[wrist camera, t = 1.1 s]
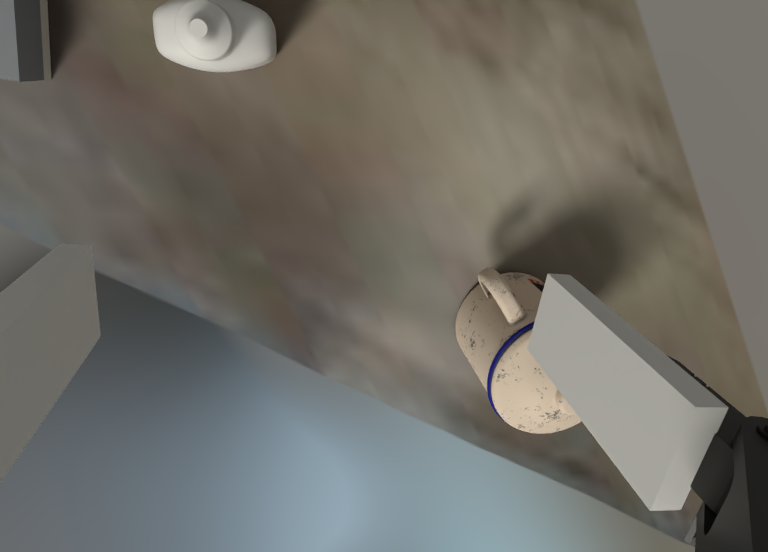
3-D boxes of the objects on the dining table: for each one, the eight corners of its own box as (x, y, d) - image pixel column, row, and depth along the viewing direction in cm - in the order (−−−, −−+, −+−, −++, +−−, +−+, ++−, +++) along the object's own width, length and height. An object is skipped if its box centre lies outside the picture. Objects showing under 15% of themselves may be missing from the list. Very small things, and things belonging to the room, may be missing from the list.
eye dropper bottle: (256, 97, 33) (240, 114, 22) (170, 47, 31) (106, 39, 20) (287, 32, 32) (287, 17, 21) (200, -23, 30) (149, -72, 19)
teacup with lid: (571, 329, 44) (661, 414, 34) (480, 384, 45) (540, 484, 34) (515, 216, 39) (599, 273, 29) (414, 279, 40) (459, 358, 29)
